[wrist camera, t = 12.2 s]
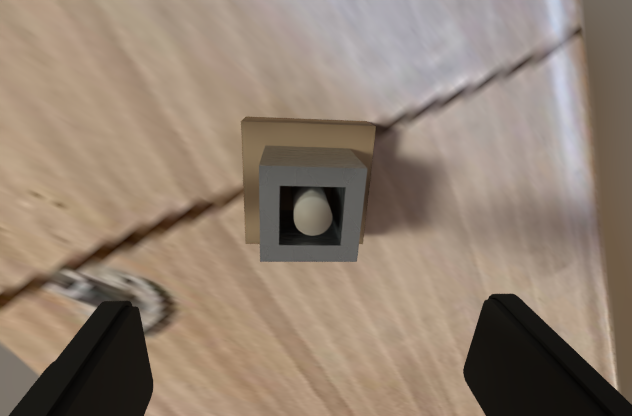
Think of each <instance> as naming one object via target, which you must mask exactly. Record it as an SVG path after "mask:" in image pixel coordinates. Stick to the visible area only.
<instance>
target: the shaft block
mask: <svg viewBox="0 0 632 416" xmlns="http://www.w3.org/2000/svg"><path fill="white" fill-rule="evenodd" d="M375 131H376V126H375V125H373V124H371V123H369V122H367V121H344V120H318V119H292V118H266V117H245V118H244V119H243V120H242V121H241V132H242V159H243V185H244V211H245V238H246V244H260V211H259V164H260V160H261V157H262V154H263V151H264V148H265V145H268V146H296V147H324V148H349V149H350V150H351V151H352V152H353V153H354V154H355V155H356V156H357V158H358V159H359V160H360V161H361V162H362V163H363V164H364V165H365V166H366V168H367V177H366V186H365V194H364V203H363V212H362V221H361V230H360V238H359V244H363V237H364V228H365V220H366V211H367V202H368V193H369V184H370V175H371V166H372V157H373V148H374V139H375ZM330 195H331V187H312V186H281V210H293V211H294V223H295V225H296V227H297V229H298V230H299V231H300V232H302V233H304V234H306V235H311V236H314V235H319V234H321V233H323V232H325V231H326V230H327V229H328V228H329V226H330V225H331V222H332V213H331V210H330Z"/></svg>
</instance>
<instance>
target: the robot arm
mask: <svg viewBox="0 0 632 416" xmlns="http://www.w3.org/2000/svg"><path fill="white" fill-rule="evenodd" d="M463 373H464V378H465V381H466V383H467V384H468V386H469V388H470V390H471V391H472V393H473V395H474V396H475V398H476V400H477V401H478V403H479V405H480V406H481V408H482V410H483V411H484V413H485V415H486V416H632V405H631V404H630V403H629V402H628V401H627V400H626V399H625V398H624V397H623V396H622V395H621V394H620V393H619V392H618V391H617V390H616V389H615V388H614V387H613V386H612V385H610V384H609V383H608V382H607V381H606V380H605V379H604V378H603V377H602V376H601V375H600V374H599V373H598V372H597V371H596V370H595V369H594V368H593V367H592V366H591V365H589V364H588V363H587V362H586V361H585V360H584V359H583V358H582V357H581V356H580V355H579V354H578V353H577V352H576V351H575V350H574V349H573V348H572V347H571V346H569V345H568V344H567V343H566V342H565V341H564V340H563V339H562V338H561V337H560V336H559V335H558V334H557V333H556V332H555V331H554V330H553V329H552V328H551V327H550V326H548V325H547V324H546V323H545V322H544V321H543V320H542V319H541V318H540V317H539V316H538V315H537V314H536V313H535V312H534V311H533V310H532V309H531V308H530V307H528V306H527V305H526V304H525V303H524V302H523V301H522V300H521V299H520V298H519V297H518V296H516V295H515V294H492V295H491V296H489V298H488V300H485V301H484V303H483V306H482V310H481V313H480V316H479V319H478V323H477V326H476V329H475V332H474V336H473V339H472V342H471V346H470V349H469V352H468V355H467V359H466V362H465V365H464V369H463ZM152 392H153V378H152V373H151V368H150V363H149V358H148V353H147V347H146V342H145V337H144V332H143V327H142V322H141V317H140V312H139V308H138V307H133V306H132V304H131V302H130V301H104V302H102V303H101V304H100V305H99V306H98V307H97V309H96V310H95V311H94V312H93V314H92V315H91V316H90V318H89V319H88V320H87V321H86V323H85V324H84V325H83V326H82V328H81V329H80V330H79V331H78V333H77V334H76V335H75V337H74V338H73V339H72V340H71V342H70V343H69V344H68V345H67V347H66V348H65V349H64V350H63V352H62V353H61V354H60V356H59V357H58V358H57V359H56V361H54V362H53V363H51V364H50V365H49V366H48V367H47V368H46V370H45V371H44V372H43V373H42V375H41V376H40V377H39V378H38V380H37V381H36V382H35V383H34V385H33V386H32V387H31V388H30V390H29V391H28V392H27V394H26V395H25V396H24V397H23V398H22V400H21V401H20V402H19V403H18V405H17V406H16V407H15V408H14V410H13V411H12V412H11V413H10V415H9V416H144V414H145V411H146V409H147V406H148V404H149V401H150V399H151V396H152Z"/></svg>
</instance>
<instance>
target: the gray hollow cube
mask: <svg viewBox="0 0 632 416" xmlns="http://www.w3.org/2000/svg"><path fill="white" fill-rule="evenodd" d="M366 177H367V168H366V166H365V165H364V164H363V163H362V162H361V161H360V160H359V159H358V158H357V156H356V155H355V154H354V153H353V152H352V151H351V150H350V149H349V148H324V147H296V146H268V145H265V148H264V151H263V154H262V157H261V160H260V164H259V211H260V262H357V256H358V247H359V238H360V230H361V221H362V212H363V203H364V194H365V186H366ZM281 186H312V187H331V195H330V210H331V213H332V222H331V225H330V226H329V228H328V229H327V230H326V231H325V232H323V233H321V234H319V235H314V236H311V235H306V234H304V233H302V232H300V231H299V230H298V229H297V227H296V225H295V223H294V211H293V210H281Z"/></svg>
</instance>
